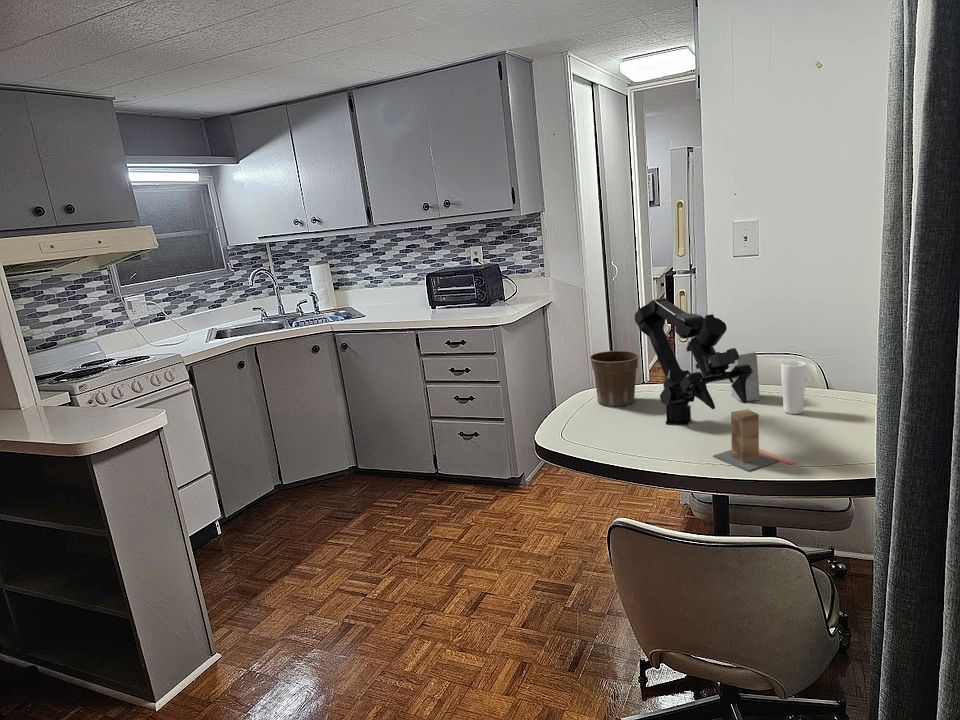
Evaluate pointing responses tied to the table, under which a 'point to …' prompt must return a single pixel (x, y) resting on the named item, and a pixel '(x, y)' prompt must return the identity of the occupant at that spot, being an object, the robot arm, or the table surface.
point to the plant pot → (615, 377)
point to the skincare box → (752, 382)
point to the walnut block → (745, 435)
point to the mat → (748, 465)
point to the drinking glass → (793, 386)
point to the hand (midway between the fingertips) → (729, 405)
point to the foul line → (776, 457)
